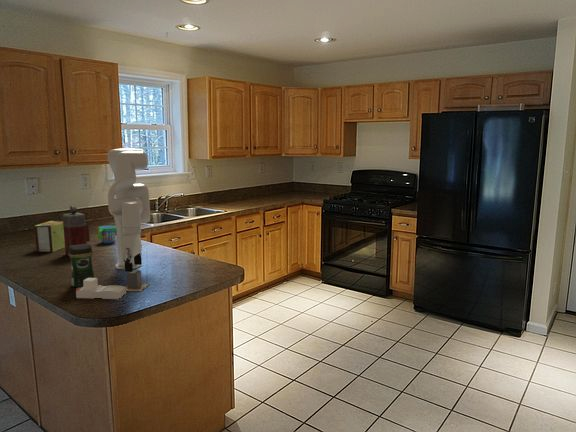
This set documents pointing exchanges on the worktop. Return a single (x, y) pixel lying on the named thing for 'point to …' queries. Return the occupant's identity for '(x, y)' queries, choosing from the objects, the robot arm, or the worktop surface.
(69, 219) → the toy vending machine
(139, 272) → the block
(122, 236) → the robot arm
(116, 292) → the power strip
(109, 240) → the snack cup
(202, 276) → the worktop surface
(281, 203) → the worktop surface
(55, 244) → the protein box
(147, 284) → the coaster
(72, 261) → the coffee jar
